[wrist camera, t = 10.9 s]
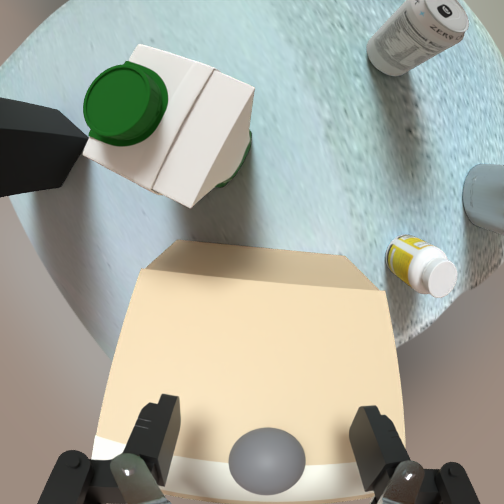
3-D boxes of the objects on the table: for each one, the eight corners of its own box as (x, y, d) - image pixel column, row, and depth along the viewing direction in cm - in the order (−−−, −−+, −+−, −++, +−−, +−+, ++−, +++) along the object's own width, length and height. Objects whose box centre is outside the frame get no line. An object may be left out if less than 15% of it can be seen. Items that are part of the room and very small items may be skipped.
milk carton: (193, 97, 30) (123, 19, 11) (264, 130, 31) (275, 71, 12) (158, 164, 32) (51, 161, 13) (227, 198, 33) (188, 234, 14)
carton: (344, 256, 35) (383, 294, 23) (320, 365, 39) (339, 426, 27) (177, 239, 35) (141, 271, 23) (176, 353, 39) (153, 412, 27)
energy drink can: (414, 65, 28) (482, 27, 14) (386, 86, 29) (455, 47, 15) (384, 30, 27) (439, -23, 13) (354, 49, 28) (405, -9, 14)
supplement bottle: (397, 282, 36) (434, 314, 26) (376, 252, 35) (413, 279, 25) (426, 255, 35) (468, 280, 25) (407, 224, 34) (450, 242, 24)
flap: (382, 295, 23) (422, 234, 18) (401, 489, 13) (474, 484, 7) (142, 272, 23) (121, 202, 17) (94, 473, 12) (29, 467, 7)
